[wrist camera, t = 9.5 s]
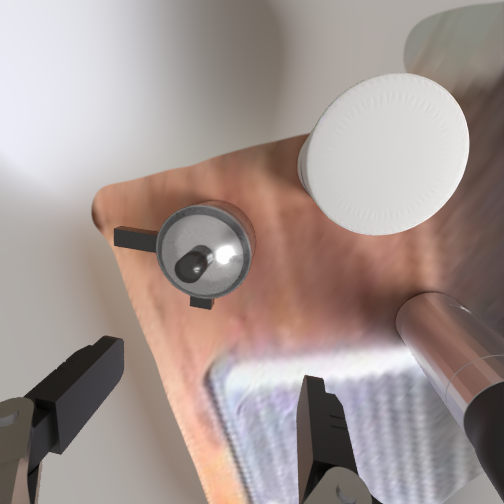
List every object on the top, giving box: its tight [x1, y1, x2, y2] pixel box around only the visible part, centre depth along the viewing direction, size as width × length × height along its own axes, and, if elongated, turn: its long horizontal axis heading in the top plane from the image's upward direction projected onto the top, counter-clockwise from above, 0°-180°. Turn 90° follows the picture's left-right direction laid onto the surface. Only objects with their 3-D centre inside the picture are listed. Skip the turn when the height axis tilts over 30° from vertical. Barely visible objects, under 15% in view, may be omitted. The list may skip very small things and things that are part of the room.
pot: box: [114, 200, 256, 310], centre depth 39 cm, size 19×14×7 cm
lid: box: [162, 214, 244, 295], centre depth 33 cm, size 10×10×6 cm
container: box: [297, 73, 469, 235], centre depth 27 cm, size 10×10×20 cm
